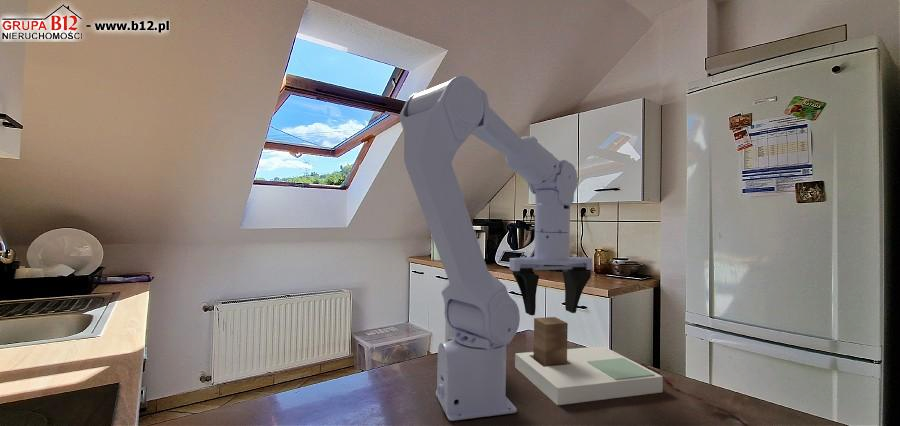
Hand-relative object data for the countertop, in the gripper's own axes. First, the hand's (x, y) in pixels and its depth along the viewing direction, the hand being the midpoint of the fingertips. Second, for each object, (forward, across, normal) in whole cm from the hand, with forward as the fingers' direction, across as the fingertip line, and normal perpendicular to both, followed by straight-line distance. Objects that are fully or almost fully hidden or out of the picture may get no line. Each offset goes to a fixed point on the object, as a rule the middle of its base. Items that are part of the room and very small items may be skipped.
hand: (550, 312), depth 65 cm
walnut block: (+10, 0, 0) cm, 10 cm away
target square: (+8, +9, -6) cm, 13 cm away
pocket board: (+10, +4, -3) cm, 12 cm away
